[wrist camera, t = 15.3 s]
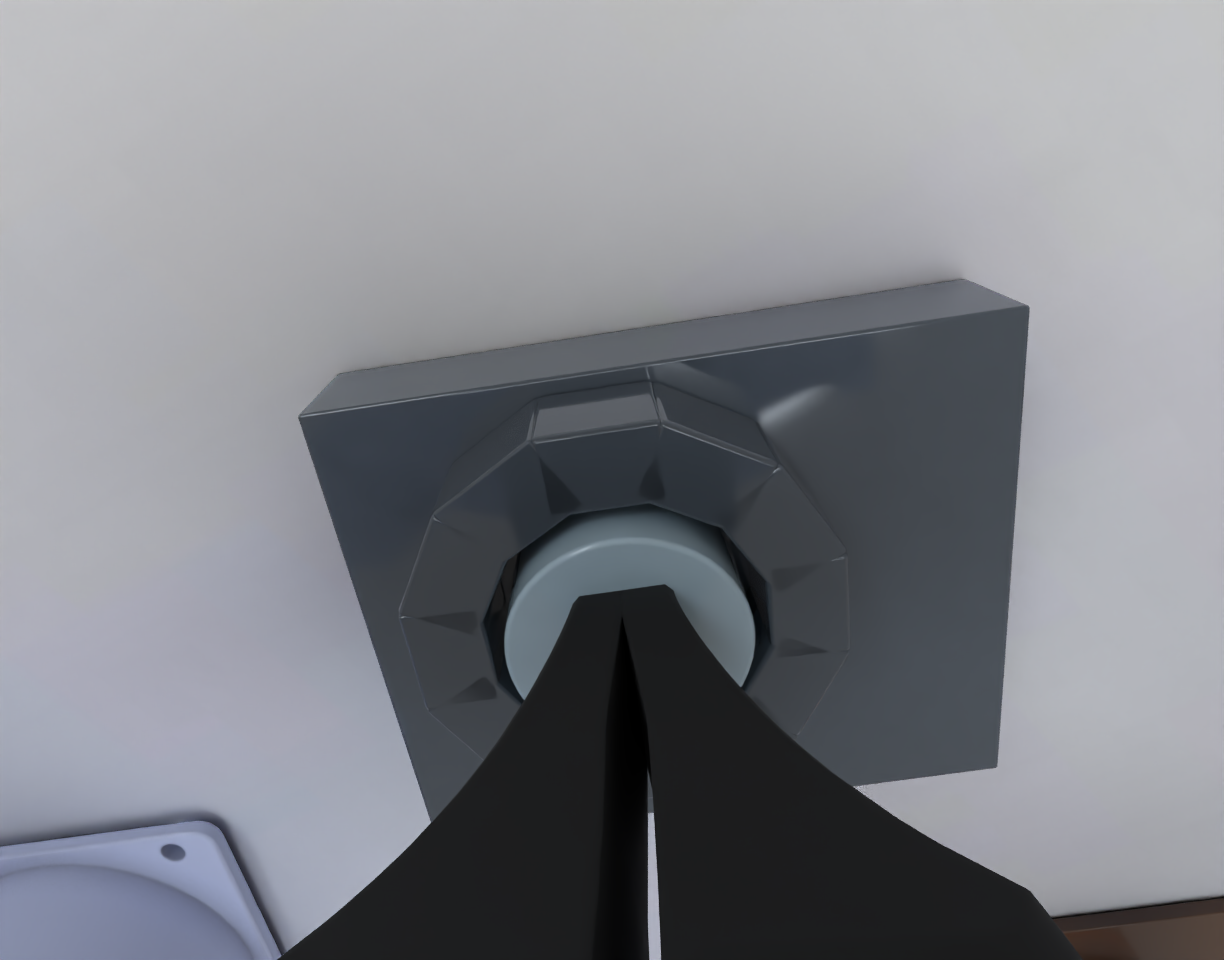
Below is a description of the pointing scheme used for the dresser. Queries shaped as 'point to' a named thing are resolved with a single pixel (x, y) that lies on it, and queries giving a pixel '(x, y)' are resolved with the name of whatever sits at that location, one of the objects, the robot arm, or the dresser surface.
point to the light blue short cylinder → (627, 582)
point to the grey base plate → (708, 511)
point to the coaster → (1150, 932)
